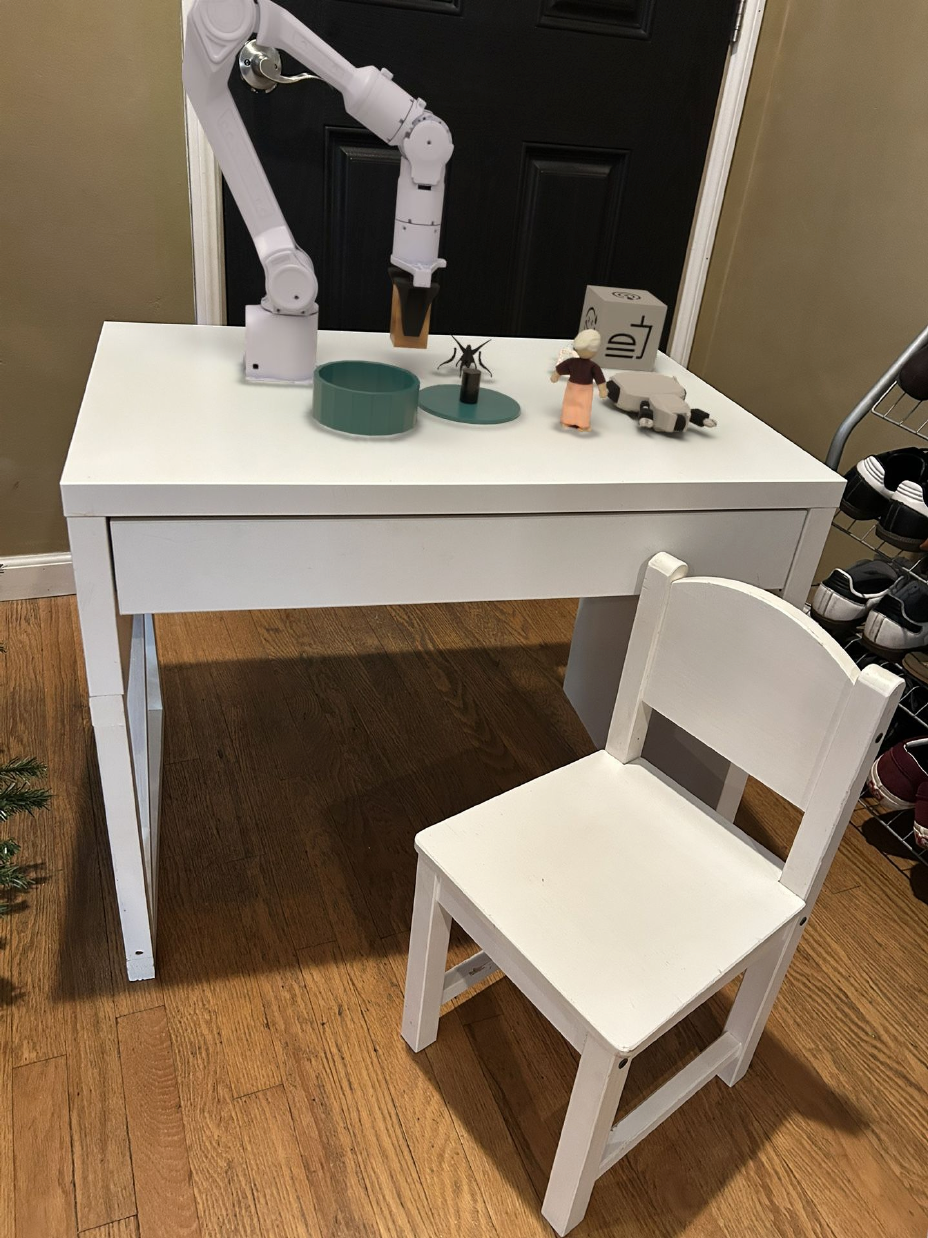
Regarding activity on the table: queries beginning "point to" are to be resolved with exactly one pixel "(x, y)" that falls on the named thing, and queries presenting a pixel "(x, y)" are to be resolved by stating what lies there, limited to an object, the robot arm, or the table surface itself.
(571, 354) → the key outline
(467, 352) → the creature
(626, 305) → the icon cube
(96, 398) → the table surface
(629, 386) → the robot toy
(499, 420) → the pot lid
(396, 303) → the maple block
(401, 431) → the pot
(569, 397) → the grandmother figurine
